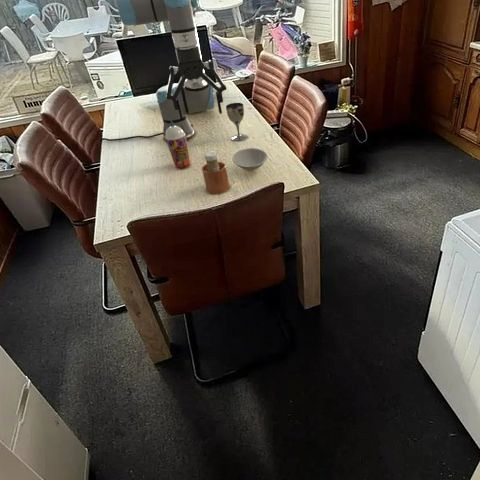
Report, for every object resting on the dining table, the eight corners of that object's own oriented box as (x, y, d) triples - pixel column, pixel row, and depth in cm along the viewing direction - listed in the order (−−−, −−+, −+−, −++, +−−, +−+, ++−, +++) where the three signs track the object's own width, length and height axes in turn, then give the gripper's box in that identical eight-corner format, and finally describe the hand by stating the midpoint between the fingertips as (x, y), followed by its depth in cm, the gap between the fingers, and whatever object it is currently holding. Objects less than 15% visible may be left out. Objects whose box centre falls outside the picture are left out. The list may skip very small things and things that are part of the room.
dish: (231, 162, 166) (229, 151, 162) (264, 156, 167) (263, 145, 164) (237, 181, 152) (235, 169, 149) (272, 174, 154) (271, 163, 151)
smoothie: (183, 172, 162) (171, 124, 149) (169, 168, 166) (156, 122, 153) (196, 163, 168) (185, 117, 154) (182, 160, 171) (170, 114, 158)
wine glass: (245, 141, 181) (240, 108, 171) (229, 141, 183) (223, 108, 173) (249, 134, 187) (245, 102, 177) (233, 134, 189) (228, 102, 179)
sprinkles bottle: (209, 186, 150) (202, 153, 141) (220, 182, 151) (213, 149, 142) (213, 190, 147) (206, 157, 138) (224, 187, 148) (218, 153, 139)
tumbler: (203, 193, 147) (198, 172, 141) (211, 182, 153) (206, 161, 147) (225, 194, 145) (221, 172, 139) (232, 183, 152) (228, 161, 146)
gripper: (146, 55, 116) (165, 125, 130) (227, 43, 119) (238, 113, 133) (146, 49, 122) (165, 117, 136) (224, 38, 124) (234, 106, 139)
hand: (201, 115), depth 135 cm, fingers open, 13 cm apart
